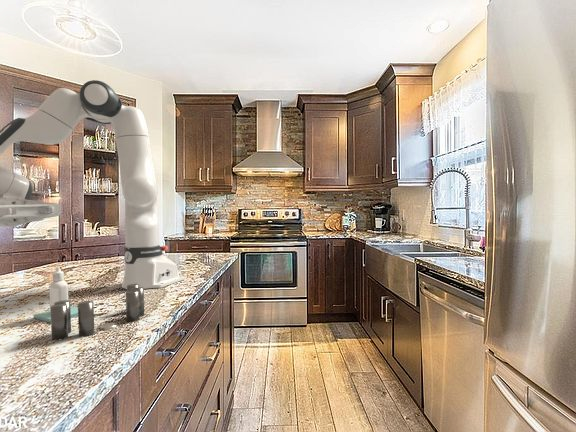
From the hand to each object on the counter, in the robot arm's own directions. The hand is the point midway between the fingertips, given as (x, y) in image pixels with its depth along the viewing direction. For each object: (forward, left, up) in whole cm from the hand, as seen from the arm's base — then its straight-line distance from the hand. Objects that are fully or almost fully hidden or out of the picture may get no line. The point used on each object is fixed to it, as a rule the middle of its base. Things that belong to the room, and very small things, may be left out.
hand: (33, 210), depth 95 cm
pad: (0, +13, -28) cm, 31 cm away
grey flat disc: (0, +33, -28) cm, 43 cm away
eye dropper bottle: (+1, +13, -27) cm, 30 cm away
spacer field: (-1, +30, -28) cm, 41 cm away
